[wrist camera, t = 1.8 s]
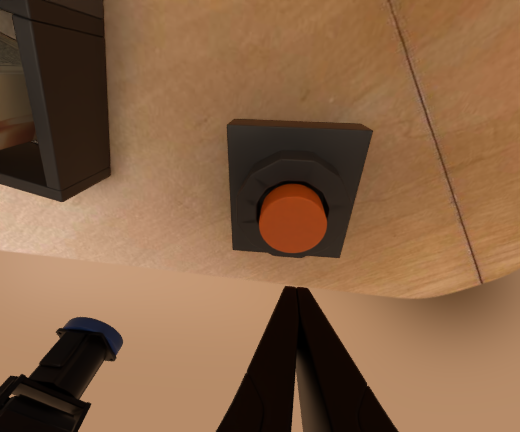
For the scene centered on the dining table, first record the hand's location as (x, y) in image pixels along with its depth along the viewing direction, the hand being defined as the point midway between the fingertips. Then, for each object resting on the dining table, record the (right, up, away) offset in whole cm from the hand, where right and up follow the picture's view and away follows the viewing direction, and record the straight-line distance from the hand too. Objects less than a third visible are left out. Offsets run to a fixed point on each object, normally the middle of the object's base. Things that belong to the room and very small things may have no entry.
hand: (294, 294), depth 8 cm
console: (+1, +5, +8) cm, 10 cm away
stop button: (+1, +3, +5) cm, 6 cm away
